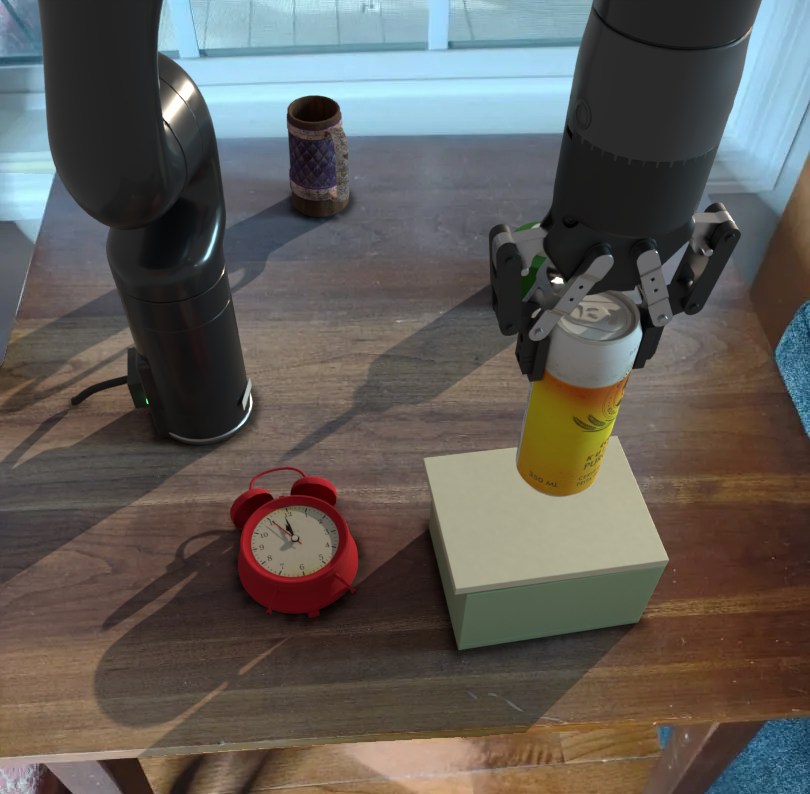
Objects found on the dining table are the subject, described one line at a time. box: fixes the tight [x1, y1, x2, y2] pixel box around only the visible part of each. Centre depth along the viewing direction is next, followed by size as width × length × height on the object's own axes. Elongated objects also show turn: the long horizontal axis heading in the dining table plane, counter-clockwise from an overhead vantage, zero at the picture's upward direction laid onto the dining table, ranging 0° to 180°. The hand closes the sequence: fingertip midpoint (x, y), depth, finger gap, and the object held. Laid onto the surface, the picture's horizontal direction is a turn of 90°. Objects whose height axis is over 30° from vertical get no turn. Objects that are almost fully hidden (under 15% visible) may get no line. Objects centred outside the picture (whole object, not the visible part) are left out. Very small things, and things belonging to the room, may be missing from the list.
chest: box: [428, 499, 666, 651], centre depth 72 cm, size 16×13×9 cm
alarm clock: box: [229, 466, 359, 619], centre depth 75 cm, size 10×6×15 cm
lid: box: [422, 435, 670, 595], centre depth 68 cm, size 16×13×1 cm
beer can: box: [516, 290, 642, 497], centre depth 58 cm, size 6×6×15 cm
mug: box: [286, 94, 350, 218], centre depth 100 cm, size 10×7×12 cm
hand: (581, 365), depth 55 cm, fingers closed on beer can, 6 cm apart
